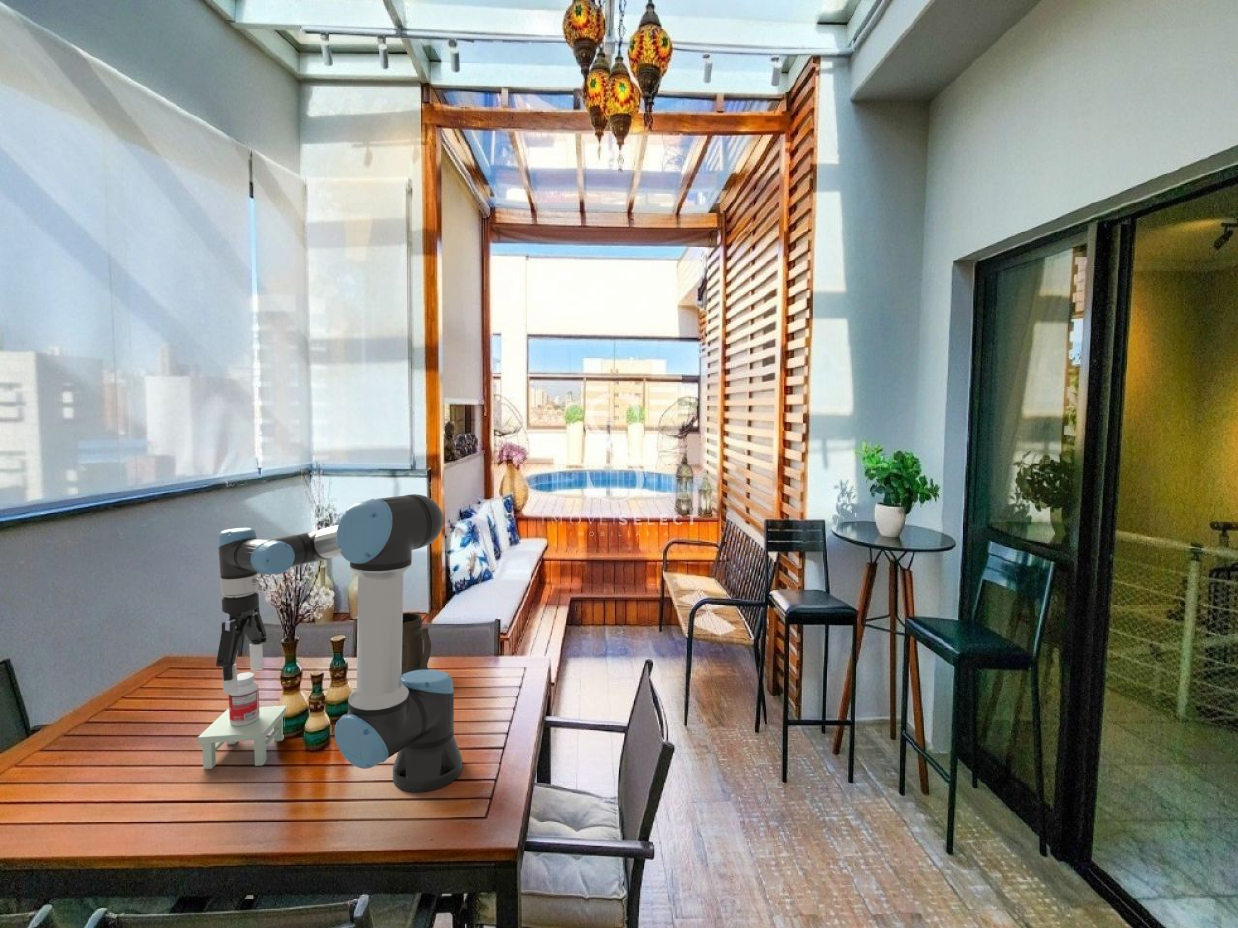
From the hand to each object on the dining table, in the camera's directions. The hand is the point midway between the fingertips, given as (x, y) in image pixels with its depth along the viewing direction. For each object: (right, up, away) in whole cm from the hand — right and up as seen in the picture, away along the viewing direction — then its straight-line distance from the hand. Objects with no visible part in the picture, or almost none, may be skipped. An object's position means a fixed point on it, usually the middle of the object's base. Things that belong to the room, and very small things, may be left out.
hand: (244, 680), depth 146 cm
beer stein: (+26, -15, +44) cm, 53 cm away
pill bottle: (0, -10, +1) cm, 10 cm away
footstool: (0, -18, +1) cm, 18 cm away
